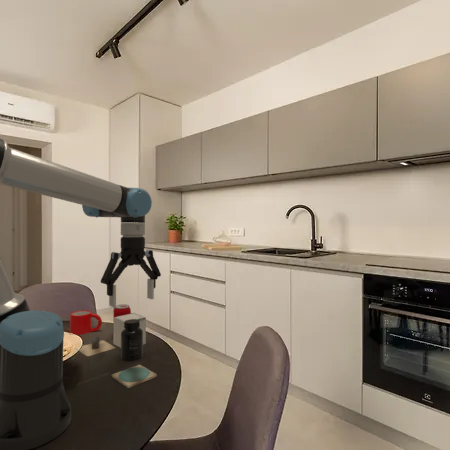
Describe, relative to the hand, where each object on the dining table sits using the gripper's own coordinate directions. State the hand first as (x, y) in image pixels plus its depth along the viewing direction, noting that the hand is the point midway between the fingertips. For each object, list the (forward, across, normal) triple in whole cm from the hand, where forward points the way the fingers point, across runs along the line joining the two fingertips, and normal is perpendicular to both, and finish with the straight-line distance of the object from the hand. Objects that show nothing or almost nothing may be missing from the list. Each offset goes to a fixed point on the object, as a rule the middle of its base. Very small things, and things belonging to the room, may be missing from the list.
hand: (132, 302), depth 102 cm
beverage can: (+18, +7, +19) cm, 27 cm away
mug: (+18, 0, +34) cm, 39 cm away
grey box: (+18, +5, +10) cm, 21 cm away
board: (+18, -5, +15) cm, 24 cm away
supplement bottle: (+18, 0, 0) cm, 18 cm away
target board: (+18, -6, -12) cm, 22 cm away
